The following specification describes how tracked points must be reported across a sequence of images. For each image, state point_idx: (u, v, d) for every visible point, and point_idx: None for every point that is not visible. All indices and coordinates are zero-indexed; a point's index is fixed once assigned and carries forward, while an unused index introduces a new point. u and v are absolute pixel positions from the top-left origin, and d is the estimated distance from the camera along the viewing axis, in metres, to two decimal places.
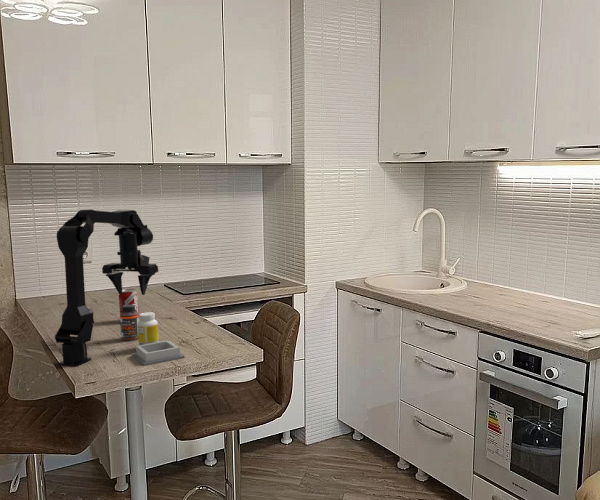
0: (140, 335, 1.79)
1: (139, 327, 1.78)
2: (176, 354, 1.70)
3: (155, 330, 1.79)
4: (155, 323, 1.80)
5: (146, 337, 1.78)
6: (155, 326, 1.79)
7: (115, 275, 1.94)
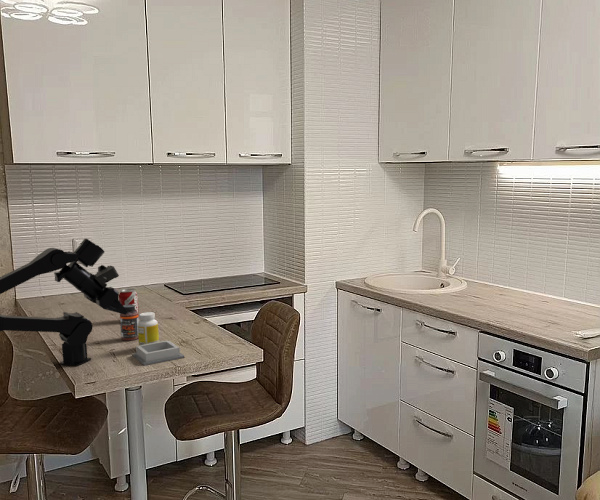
0: (140, 335, 1.79)
1: (139, 327, 1.78)
2: (176, 354, 1.70)
3: (155, 330, 1.79)
4: (155, 323, 1.80)
5: (146, 337, 1.78)
6: (155, 326, 1.79)
7: None
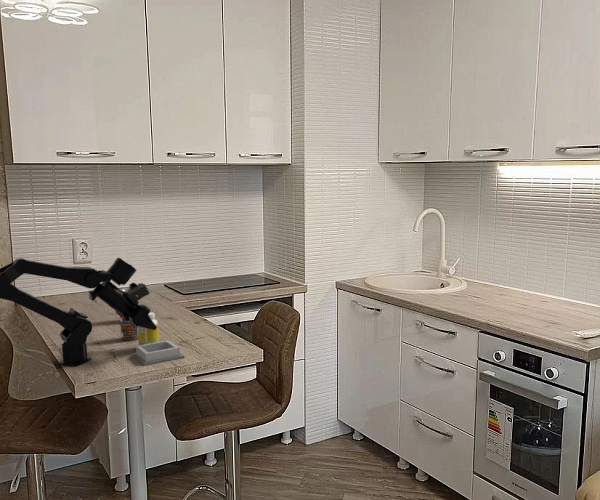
0: (140, 335, 1.79)
1: (139, 327, 1.78)
2: (176, 354, 1.70)
3: (155, 330, 1.79)
4: (155, 323, 1.80)
5: (146, 337, 1.78)
6: None
7: None
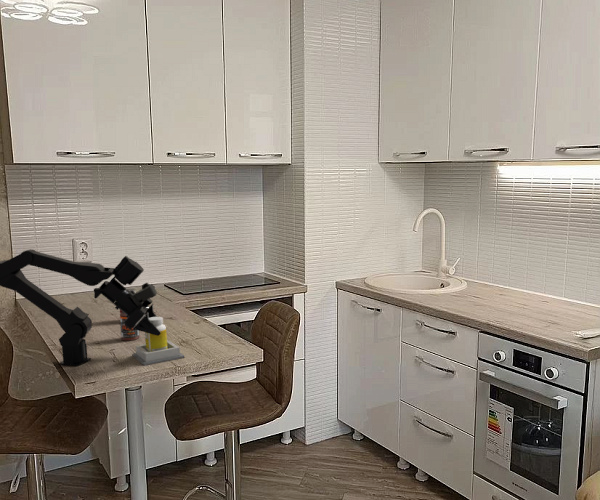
0: (145, 340, 1.70)
1: (145, 332, 1.70)
2: (176, 354, 1.70)
3: (159, 337, 1.69)
4: (160, 329, 1.69)
5: (149, 343, 1.69)
6: None
7: None
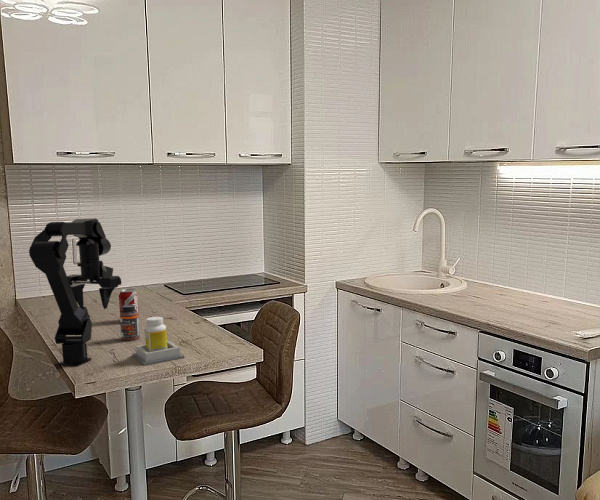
0: None
1: (145, 332, 1.70)
2: (176, 354, 1.70)
3: (159, 337, 1.69)
4: (160, 329, 1.69)
5: (149, 343, 1.69)
6: (160, 332, 1.69)
7: (76, 287, 1.82)
